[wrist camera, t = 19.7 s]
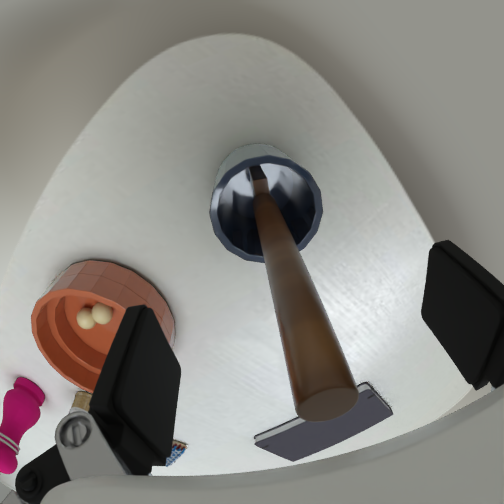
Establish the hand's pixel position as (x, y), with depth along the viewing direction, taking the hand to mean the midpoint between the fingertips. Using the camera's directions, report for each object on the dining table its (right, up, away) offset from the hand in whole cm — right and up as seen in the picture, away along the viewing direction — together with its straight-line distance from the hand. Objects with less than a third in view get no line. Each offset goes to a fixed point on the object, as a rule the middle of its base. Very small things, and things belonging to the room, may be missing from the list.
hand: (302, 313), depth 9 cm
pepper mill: (-41, -22, +28) cm, 54 cm away
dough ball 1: (-20, -6, +18) cm, 28 cm away
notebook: (+11, -27, +34) cm, 45 cm away
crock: (-1, +8, +16) cm, 18 cm away
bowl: (-18, -6, +22) cm, 29 cm away
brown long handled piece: (-1, +7, +16) cm, 18 cm away
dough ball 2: (-18, -5, +19) cm, 27 cm away
